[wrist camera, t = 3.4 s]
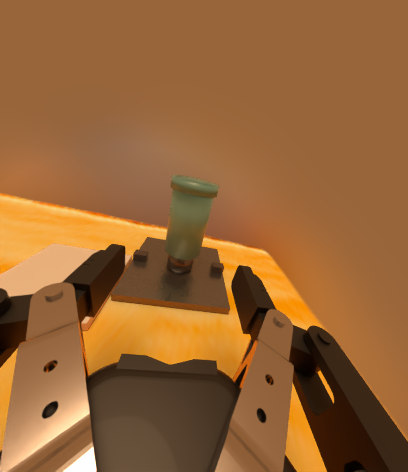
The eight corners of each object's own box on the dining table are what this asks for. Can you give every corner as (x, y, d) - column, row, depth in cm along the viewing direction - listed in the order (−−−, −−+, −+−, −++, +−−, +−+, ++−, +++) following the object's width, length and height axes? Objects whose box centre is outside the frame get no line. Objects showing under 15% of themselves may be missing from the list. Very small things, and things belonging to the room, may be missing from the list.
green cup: (158, 257, 20) (168, 178, 16) (166, 237, 25) (175, 173, 21) (202, 264, 21) (222, 190, 17) (201, 243, 26) (216, 182, 22)
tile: (-53, 317, 13) (-59, 309, 13) (54, 249, 23) (53, 243, 22) (87, 330, 14) (86, 323, 14) (131, 260, 24) (131, 255, 24)
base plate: (111, 300, 18) (110, 273, 16) (146, 241, 30) (148, 222, 28) (227, 314, 20) (237, 291, 18) (215, 253, 32) (221, 236, 30)
